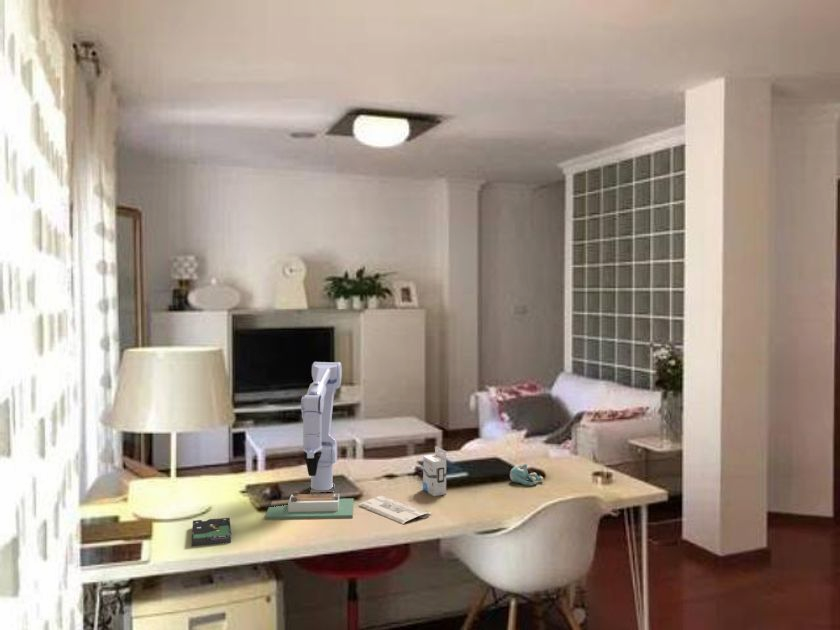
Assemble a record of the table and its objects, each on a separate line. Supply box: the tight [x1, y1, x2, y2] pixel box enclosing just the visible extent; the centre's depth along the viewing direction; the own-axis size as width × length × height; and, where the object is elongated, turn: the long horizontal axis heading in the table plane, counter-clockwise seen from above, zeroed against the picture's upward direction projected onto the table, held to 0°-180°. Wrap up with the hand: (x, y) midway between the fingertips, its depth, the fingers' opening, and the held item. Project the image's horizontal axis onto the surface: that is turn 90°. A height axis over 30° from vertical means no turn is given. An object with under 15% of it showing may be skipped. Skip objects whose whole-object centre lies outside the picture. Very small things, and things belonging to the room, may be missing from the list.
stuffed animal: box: [509, 463, 545, 487], centre depth 244 cm, size 11×7×12 cm
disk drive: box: [191, 517, 232, 548], centre depth 191 cm, size 10×3×15 cm
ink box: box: [422, 445, 447, 497], centre depth 231 cm, size 8×5×15 cm, turn 26°
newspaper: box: [358, 495, 432, 526], centre depth 213 cm, size 23×12×2 cm, turn 42°
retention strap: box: [295, 493, 335, 500], centre depth 212 cm, size 4×12×1 cm, turn 94°
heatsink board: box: [264, 491, 355, 520], centre depth 212 cm, size 16×26×5 cm, turn 94°
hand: (312, 475), depth 217 cm, fingers closed
